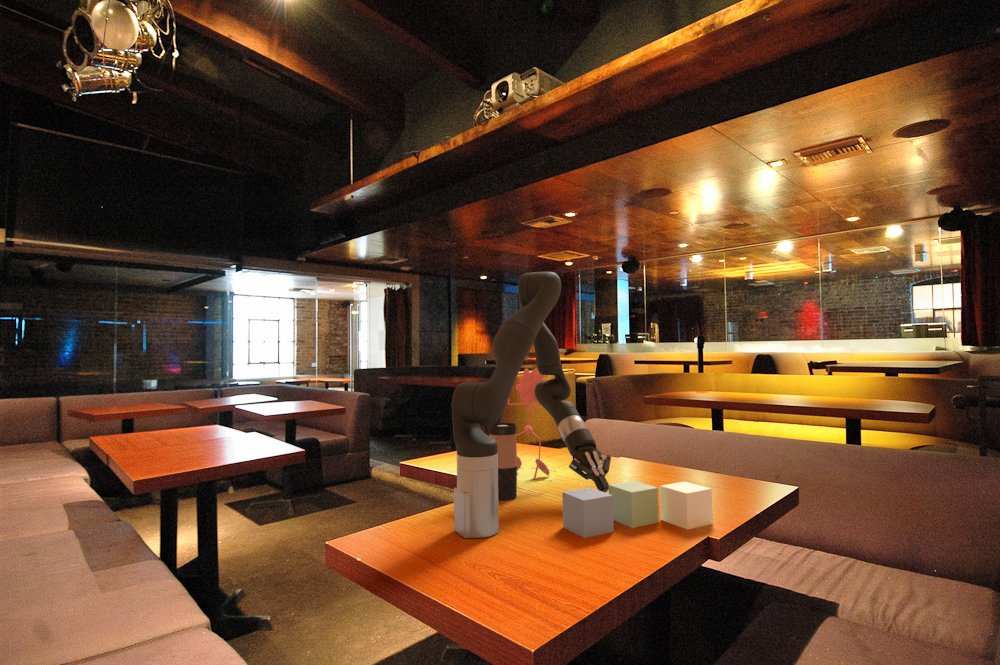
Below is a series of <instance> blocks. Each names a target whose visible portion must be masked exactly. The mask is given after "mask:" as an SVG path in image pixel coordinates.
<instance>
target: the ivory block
mask: <svg viewBox="0 0 1000 665" xmlns="http://www.w3.org/2000/svg"><path fill="white" fill-rule="evenodd" d="M659 491H660V492H659V493H660V494H659V495H660V499H659V500H660V521H664V522H666V523H669V524H672V525H674V526H677V527H679V528H682V529H685V530H687V531H689V530H692V529H696V528H700V527H705V526H709V525H713V523H714V521H713V520H714V518H713V499H712V498H713V495H712V494H713V492H712V491H713V490H712V488H710V487H706V486H702V485H698V484H696V483H691V482H688V481H679V482H674V483H668V484H663V485H659Z"/></svg>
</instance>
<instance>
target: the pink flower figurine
mask: <svg viewBox="0 0 1000 665" xmlns="http://www.w3.org/2000/svg"><path fill="white" fill-rule="evenodd" d="M545 376H546V375H542V374H540V373H539V372H538V369H537V368H534V369H532V370H531V371H530V369H528V368H527V367H526V368H524V370H523V372H522V375H521V374H520V376H519V378H518V379H519V383H517V384H516V385H515V390H516V391H517V392H519V393H520V395H519V398H520V399H519V400H522V401H521V402H514V403H513V402H511V403H510V397H509V398H508V401H507V405H508V406H514V405H515V406H516V405H522V406H524V407H525V408H527V409H528V410H530V411H531V412H530V417H529V422H528V425H526V426H524V428H523V431H522V432H519V433H518V434H517V433H516V437H518V436H519V435H521V434H524V433H525V434H526V435H530V434H533V435H534V436H535V437H536V438H537V439H538V440H539V442H538V443H539V446H538V458H535V464H536V467H532V469H535V472H534V475H533V479H534V480H536V478H537V473H538V470H540V471H541V472H542V473H544V474H545V475H546V476H548V477H550V472H551V471H552V472H555V473H556V472H557V471H555V470H551V469H549V468H548V466H547V465H546V464H545V463H544V462H543V460H541V438H540V437H539V436H538V435H537V433H535V432H534V431H533V428H532V426H531V421H532V417H533V414H534V411H533V410H535V411H536V410H537V409H538V407H539V405H541V404H540V403H539V402H538V400H537V399H536V396H535V387H536V385H537V384H538V383H540V382H543V381H546V380H544V378H545ZM533 402H534V403H535V405H536V406H535V407H534V406H532V404H533ZM522 464H523V463H522V460H521V457H519V456H518V455H517V472H518V471H519V470H520V469H521V468H522ZM552 481H553V480H549V482H552Z"/></svg>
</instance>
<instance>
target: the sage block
mask: <svg viewBox="0 0 1000 665" xmlns="http://www.w3.org/2000/svg"><path fill="white" fill-rule="evenodd" d="M608 494H610V495H613V519H614V522H617V523H618V524H619V523H620V524H621V525H624V526H626V527H629V528H631V529H634V528H639V527H644V526H648V525H649V526H650V525H653V524H658V523H659V522H660V518H659V517H660V516H659V515H660V514H659V512H660V510H659V509H660V508H659V506H660V505H659V487H656V486H655V485H650V484H646V483H644V482H640V481H637V480H630V481H623V482H617V483H612V484H609V490H608Z"/></svg>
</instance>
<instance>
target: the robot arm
mask: <svg viewBox="0 0 1000 665" xmlns="http://www.w3.org/2000/svg"><path fill="white" fill-rule="evenodd" d="M517 283H518V284H517V293H518V297H519V301H520V305H521V308H519V309H518V310H516V311H515V312H514V313H512V314H511V315H510V316H508V317H507V318H506V319H505V320H504V321H503V322H502V324H501V326H500V327H499V329H498V330H497V332H496V333H495V337H494V338H493V341H492V352H493V356H494V361H495V365H496V366H495V369H494V371H493V372H492V374H491V377H489V379H488V380H487V381H464V382H461V383H458V385H457V386H456V387H455V388H454V391H453V394H452V397H451V398H452V399H451V414H452V415H451V416H452V418H451V420H452V431H453V432H452V434H453V441H454V445H455V447H456V448H455V449H456V487H454V488H453V526H454V528H453V529H454V531H455V532H456V533H457V534H458V535H460V536H461V537H462V538H463V539H469V538H472V539H473V538H474V539H480V538H488V537H492V536H495V535H496V534H497V533H499V530H500V526H499V525H500V518H499V517H500V516H499V515H500V514H499V500H498V445H497V441H496V440H495V439H493V438H492V437H490V436H489V435H488V434H487V433H485V431H483V430H482V428H481V426H480V425H481V424H484V425H485V424H486V425H490V424H494V423H497V421H499V419H500V418H501V417H502V415H503V413H504V411H505V409H506V406H507V405H508V398H509V399H510V395H511V393H512V390H513V387H514V384H515V382H516V380H517V377H518V375H519V371H521V368H522V366H523V363H524V361H525V360H526V358H527V356H528V354H529V352H530V350H531V349H532V348H533V350H534V355H535V362H536V367H537V369H538V372H539V373H540V374H542V375H545V376H554V378H552V379H547V380H545V381H543V382H540V383H538V384H537V385H536V387H535V396H536V399H537V400H538V402H539V403H540V405H541V407H542V408H543V409H545V411H546V412H548V414H549V415H550V416H551V417H552V419H553V421H554V422H555V425H556V426H557V428H558V431H559V433H560V436H561V438H562V441H563V442H564V445H565V446H566V448H567V450H568V452H569V454H570V456H572V460H571V462H570V463H569V465H568V468H569V469H570V470H572V471H573V472H575V473H576V474H577V475H579V476H580V477H582V478H583V479H585V480H588V481H589V480H591V481H592V482H594V485H595V486H596V490H599V491H602V492H605V493H608V492H609V485H610V484H609V482H608V480H607V479H606V476H607V474H608V473H609V472H610V465H611V460H612V457H611V455H610V454H609V455H604V454H602V452H601V450H599V449H598V448H597V442H596V440H595V439H594V437H593V435H592V433H591V432H590V430H589V427H588V426H587V424H586V423H585V421H584V420H583V418H582V416H581V415H580V413H579V412H578V410H577V408H576V406H575V405H574V404H573V403H572V402H571V401H568V398H569V397H570V396H571V393H572V391H571V390H572V389H571V386H570V383H569V380H568V379H567V377H566V375H565V372H564V369H563V366H562V362H561V355H560V348H559V345H558V342H557V340H556V338H555V336H554V335H553V333H552V332H551V331H550V329H549V328H548V326H547V324H545V320H546V319H547V318H548V316H549V315H550V313H551V311H552V310H553V309H554V307H555V306H556V304H557V302H558V300H559V298H560V296H561V291H562V281H561V278H560V276H559V275H558V274H557V273H556V272H553V271H536V272H533V271H532V272H525V273H523V274H522V275H521V276H520V277H519V279H518V282H517ZM566 400H567V401H566Z"/></svg>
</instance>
